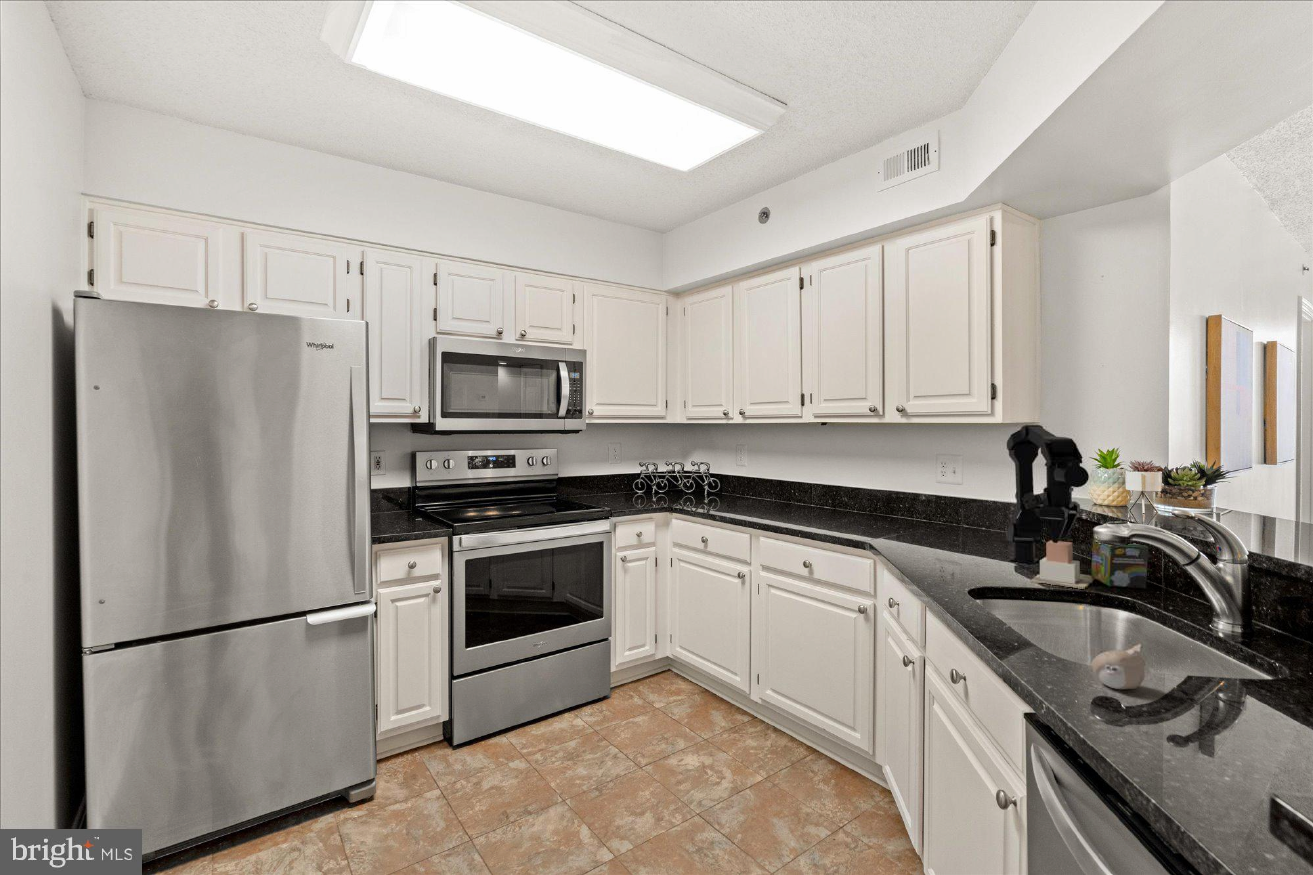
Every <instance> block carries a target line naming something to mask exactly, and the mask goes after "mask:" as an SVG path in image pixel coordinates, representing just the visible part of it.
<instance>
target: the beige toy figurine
mask: <svg viewBox="0 0 1313 875" xmlns="http://www.w3.org/2000/svg"><path fill="white" fill-rule="evenodd" d="M1141 644H1142V643H1139V644H1136V645H1134V646H1132V648H1130V649H1125V650H1119V649H1117V650H1106V651H1104V652H1101V653H1099V654H1098V655H1097V656H1096V657H1095V658H1093V660H1092V662H1091V669H1092V671H1093V674H1094V675H1095V678H1097V680H1099V682H1101V683H1102V684H1104V685H1106V686H1107V687H1109V688H1111V689H1116V690H1134V689H1137V688H1138V687H1140V686H1141V685H1142V684H1143V682H1144V679H1145V676H1146V675H1145V674H1146V673H1145V671H1146V670H1145V667H1146V666H1145V665H1146V662H1145V660H1144V658H1143V656H1141V655H1140V652H1141V650H1142V648H1143V645H1141Z"/></svg>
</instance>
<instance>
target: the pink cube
mask: <svg viewBox="0 0 1313 875" xmlns="http://www.w3.org/2000/svg"><path fill="white" fill-rule="evenodd" d="M1045 548H1046V549H1045V552H1046V556H1045V557H1046V559H1047V561H1050V562H1058V563H1066V564H1069V563H1070V562H1071V561H1073V542H1069V541H1061V540H1059V541H1058V543H1053V541H1052V539H1051V540H1048V541H1047V542H1046V546H1045Z"/></svg>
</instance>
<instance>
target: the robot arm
mask: <svg viewBox="0 0 1313 875" xmlns="http://www.w3.org/2000/svg"><path fill="white" fill-rule="evenodd" d="M1006 449H1007V450H1008V456H1009V458H1010V459H1011V460H1012V462H1013V463H1014V467H1015V468H1014V469H1015V470H1014V471H1015V472H1014V473H1015V491H1016V492H1015V495H1016V497H1015V498H1016V510H1015V511H1014V513H1013V514H1012V515H1011V517H1010V518H1011V519H1010V524H1009V526H1008V528H1007V530H1006V533H1005V535H1006V540H1007V541H1008V542H1011V543H1013V550H1012V551H1013V557H1011V558H1010V559H1009V561H1011V562H1016V563H1017V562H1018V563H1025V564H1035V563H1036V562H1038V561H1039V558H1035V557H1036V556H1035V553H1036V551H1035V546H1036V545H1035V544H1036V543H1038V544H1042V542H1043V537H1044V530H1045V529H1044V526H1043V524H1042V522H1044V523H1045V524H1046V525H1047V528H1048V531H1049V534H1050V537H1051V540H1052V541H1053V543H1058V541H1060V538H1061V539H1067V537H1068V535H1069V533H1070V531H1071V529H1072V527H1073V525H1074V524H1075V521H1076V520H1077V517H1078V516H1079V512H1081V504H1079V503H1078V502H1077V501H1073V498H1072V497H1073V496H1072V495H1073V494H1072V493H1073V492H1074V488H1081V487H1083V486H1085V485H1086V484H1087V483H1088V481H1089V478H1090V475H1089V473H1088V470H1087V469H1086V468H1084V467H1083V466H1081V464H1083V455H1082V453H1081V451H1080V450H1079V448H1078V445H1077V443H1076V442H1075V441H1074V439H1073V438H1071V437H1065V436H1057V435H1055V434H1053V433H1052V432H1050V431H1048V430H1046V429H1045V428H1044V427H1043V425H1040V424H1025V425H1022V427H1021V428H1020V429H1019V430H1017V431H1015V432H1013V433H1011V434H1010V436H1009V437H1008V439H1007V441H1006ZM1039 450H1040V455H1042V457H1043V459H1044V460H1045V464H1044V466H1045V467H1046V487H1044V488H1043V489H1042V490H1043V492H1041V493H1037V494H1035V493H1034V492H1035V491H1034V469H1033V468H1034V467H1033V466H1034V465H1033V464H1034V462H1035V461H1036V459H1037V457H1038V456H1039ZM1041 505H1042V506H1041ZM1038 506H1040V507H1039V508H1037V512H1036V511H1035V507H1038Z"/></svg>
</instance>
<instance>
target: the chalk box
mask: <svg viewBox="0 0 1313 875" xmlns="http://www.w3.org/2000/svg"><path fill="white" fill-rule="evenodd" d="M1145 545H1146V544H1145ZM1145 545H1141V544H1136V543H1133V544H1128V545H1124V546H1121V547H1116V546H1107V545H1100V544H1098V543H1096V542H1095V541H1094V537H1092V553H1091V575H1090V576H1091V577H1093V578H1095V580H1098V581H1099V582H1101V583H1103V584H1105V585H1107V587H1120V588H1121V587H1122V588H1123V587H1124V588H1134V589H1135V588H1136V589H1146V588H1147V574H1148V573H1147V572H1148V561H1149V560H1148V558H1149V547H1148V546H1149V545H1148V546H1145Z"/></svg>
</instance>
